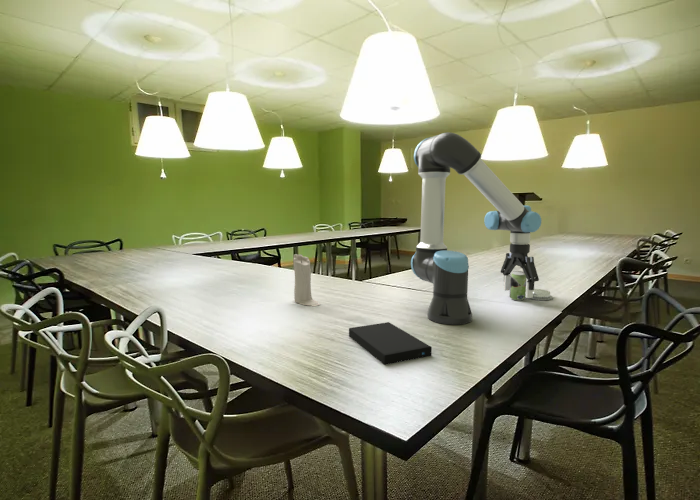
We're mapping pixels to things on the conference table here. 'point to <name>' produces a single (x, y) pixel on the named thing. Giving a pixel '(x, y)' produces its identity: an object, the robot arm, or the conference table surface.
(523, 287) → the beverage can
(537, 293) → the bowl
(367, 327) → the external hard drive
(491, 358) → the conference table surface
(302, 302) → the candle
